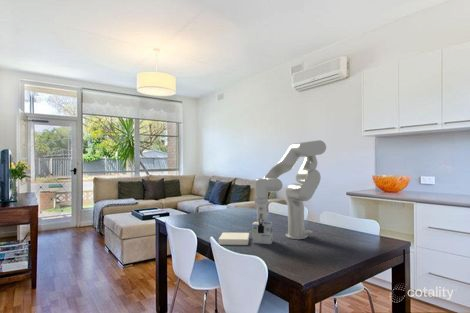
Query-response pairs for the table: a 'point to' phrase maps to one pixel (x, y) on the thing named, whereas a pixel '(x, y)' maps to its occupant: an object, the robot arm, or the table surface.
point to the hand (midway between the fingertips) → (261, 230)
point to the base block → (234, 239)
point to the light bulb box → (262, 237)
